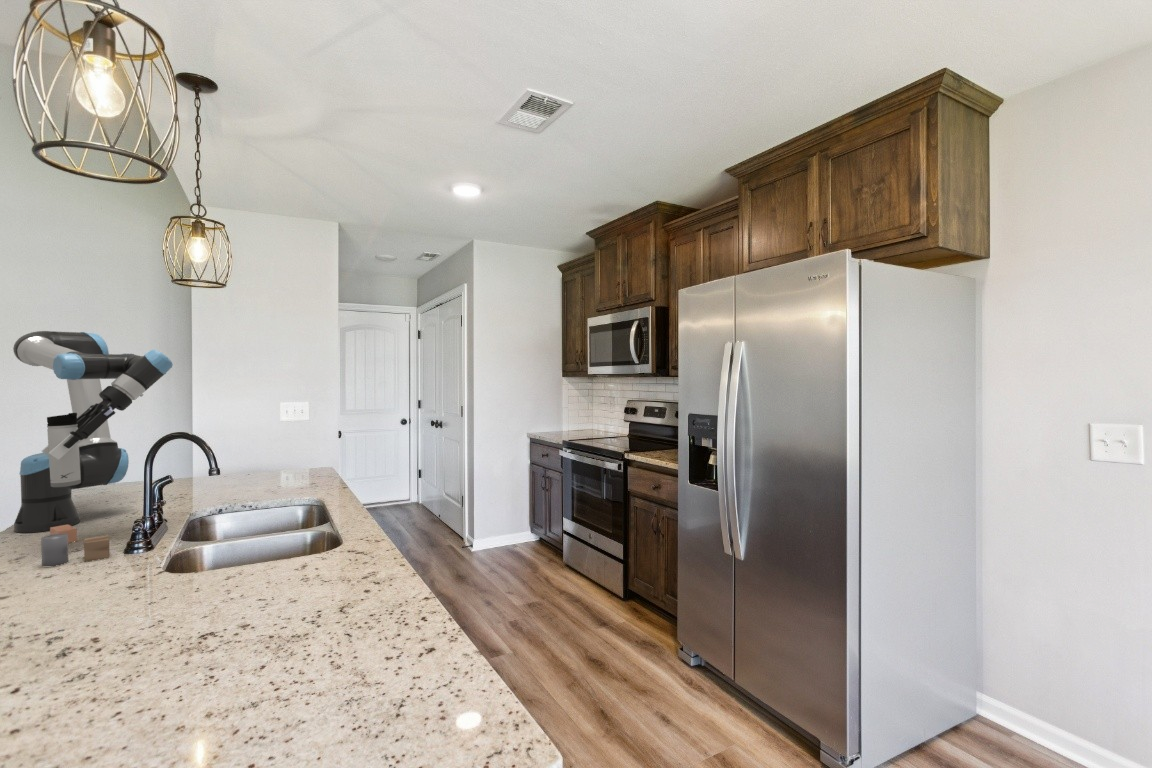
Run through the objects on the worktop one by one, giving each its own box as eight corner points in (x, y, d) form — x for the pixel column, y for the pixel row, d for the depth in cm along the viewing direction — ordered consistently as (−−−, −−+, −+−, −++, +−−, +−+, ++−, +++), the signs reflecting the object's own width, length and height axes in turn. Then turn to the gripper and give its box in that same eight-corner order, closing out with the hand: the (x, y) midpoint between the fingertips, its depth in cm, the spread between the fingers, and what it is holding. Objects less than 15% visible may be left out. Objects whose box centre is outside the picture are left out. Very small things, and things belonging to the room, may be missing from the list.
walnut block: (84, 557, 150) (84, 538, 150) (109, 553, 153) (108, 535, 153) (84, 562, 146) (84, 543, 146) (109, 558, 149) (109, 539, 149)
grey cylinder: (48, 561, 146) (47, 534, 146) (72, 559, 148) (71, 532, 148) (37, 568, 142) (36, 540, 141) (62, 565, 143) (61, 538, 143)
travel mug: (69, 487, 154) (65, 413, 153) (44, 487, 154) (39, 414, 153) (88, 482, 160) (84, 411, 159) (64, 482, 160) (59, 412, 159)
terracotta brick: (50, 541, 164) (50, 527, 164) (68, 537, 168) (68, 524, 168) (58, 546, 160) (58, 531, 160) (77, 542, 163) (76, 528, 163)
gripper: (145, 402, 164) (73, 467, 151) (121, 400, 175) (52, 460, 162) (122, 385, 159) (46, 449, 146) (99, 383, 170) (26, 444, 157)
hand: (49, 455), depth 154 cm, fingers closed on travel mug, 6 cm apart
